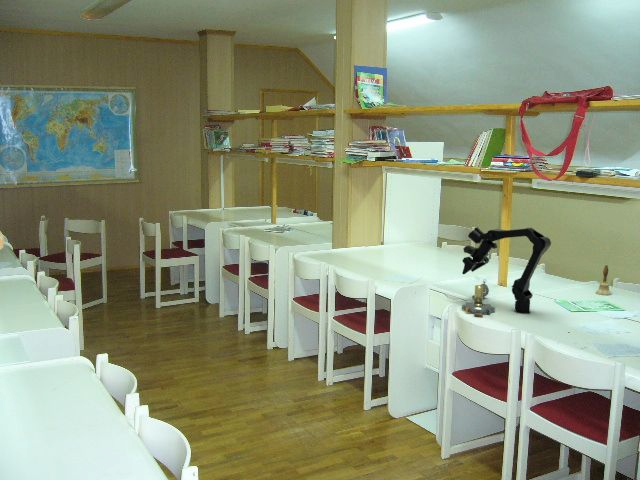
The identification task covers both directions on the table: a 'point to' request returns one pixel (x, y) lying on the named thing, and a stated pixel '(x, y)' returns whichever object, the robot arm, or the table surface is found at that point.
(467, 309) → the sprocket
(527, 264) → the robot arm
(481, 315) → the pointer
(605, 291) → the hand bell
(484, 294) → the pocket watch
